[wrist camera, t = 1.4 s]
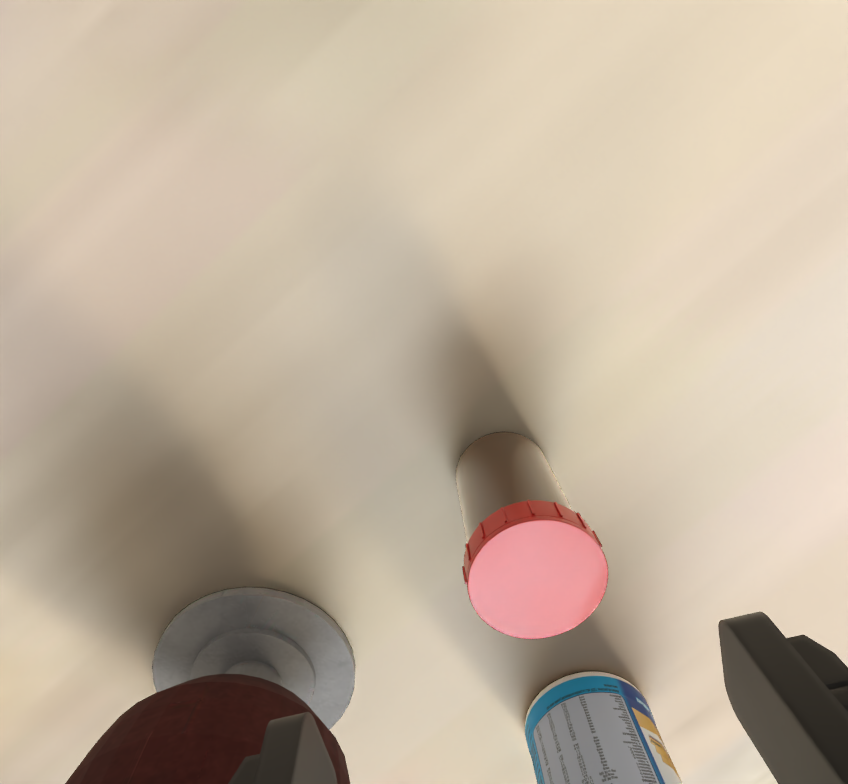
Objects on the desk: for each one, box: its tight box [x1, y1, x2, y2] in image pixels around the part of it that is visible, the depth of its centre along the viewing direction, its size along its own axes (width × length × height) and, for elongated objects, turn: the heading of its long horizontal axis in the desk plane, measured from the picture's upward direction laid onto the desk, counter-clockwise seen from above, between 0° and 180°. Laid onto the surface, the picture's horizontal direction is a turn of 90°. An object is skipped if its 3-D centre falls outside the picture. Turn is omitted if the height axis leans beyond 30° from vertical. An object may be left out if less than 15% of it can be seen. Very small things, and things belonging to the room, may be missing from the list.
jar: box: [456, 432, 573, 544], centre depth 30 cm, size 5×5×9 cm
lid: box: [462, 500, 608, 639], centre depth 26 cm, size 6×6×2 cm
